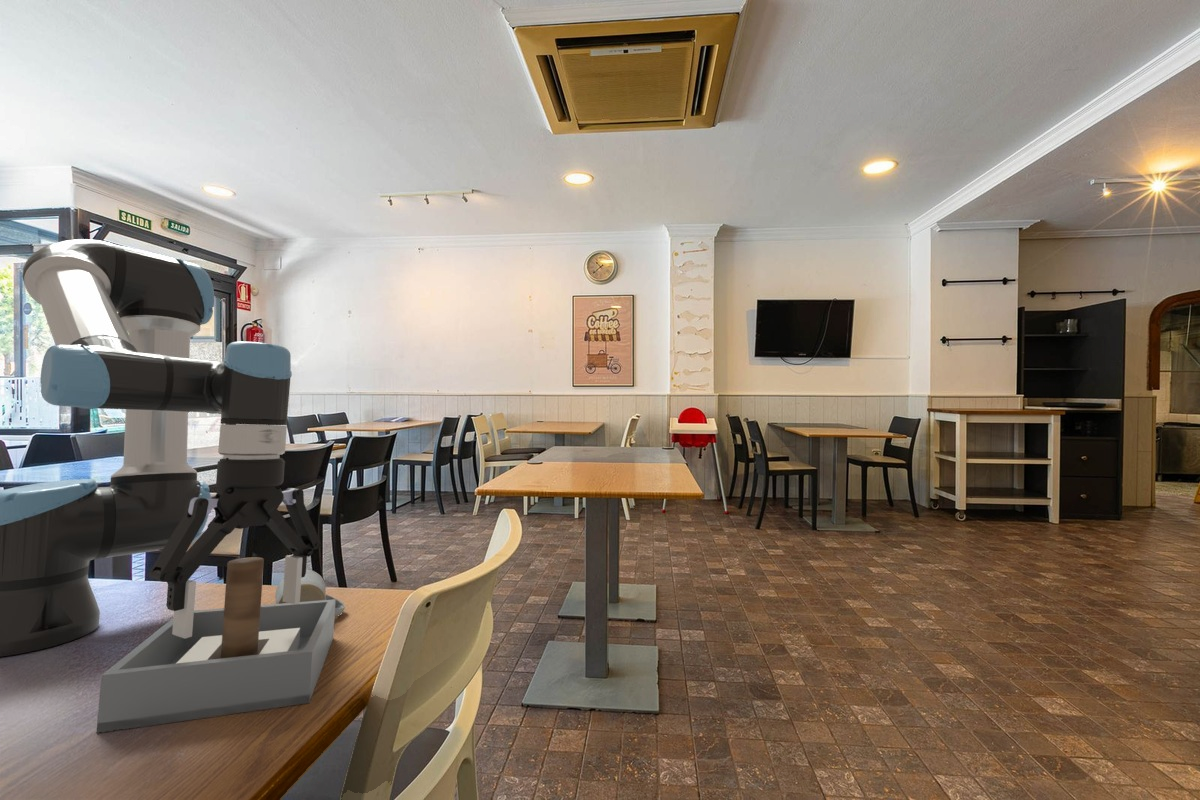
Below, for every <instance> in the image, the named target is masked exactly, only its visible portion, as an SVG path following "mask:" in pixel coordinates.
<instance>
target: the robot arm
mask: <svg viewBox="0 0 1200 800" xmlns="http://www.w3.org/2000/svg"><path fill="white" fill-rule="evenodd" d="M21 275H22V281H23V285H24V287H25V289H26V292H27V294H28V295H29V296H30V297H31V298H32V299H33V300H34V301H35V302H36V303H38V304H39V305H41V308H42V311H43V314H44V316H45V319H46V323H47V325H48V328H49V330H50V334H51V336H52V339H53V341H54V345H52V346H49V347H48V349H46V351H45V353H44V356H43V359H42V363H41V370H40V382H39V383H40V393H41V394H40V395H41V397H42V398H43V400H44V401H45V402H46V403H48V404H50V405H52V406H56V407H57V406H58V407H59V406H60V407H70V408H71V407H72V408H81V409H84V410H96V409H104V410H106V409H107V410H108V409H109V410H111V409H112V410H125V420H124V439H123V440H124V444H123V463H122V464H123V465H122V466H121V467H120V468H119V469H118V470H116V471H115V472H114V473H113V474H112V475H110V482H109V483H110V485H109V486H100V487H98V485H99V484H98V483H97V482H96V480H95V479H91V478H76V479H68V480H67V479H64V480H57V481H56V480H55V481H45V482H39V483H32V484H27V485H21V486H15V487H11V488H6V489H3V490H0V658H1V657H9V656H14V655H19V654H24V653H30V652H34V651H39V650H43V649H44V650H45V649H47V648H52V647H55V646H59V645H62V644H66V643H69V642H71V641H74V640H77V639H79V638H81V637H82V638H83V637H84V636H86V635H87V636H88V634H91V633H92V632H95V630H96V629H97V628H98V627H99V626H100V617H101V612H100V608H99V605H98V602H97V600H96V597H95V594H94V591H93V588H92V587H91V586H92V585H91V583H90V581H89V569H90V562H91V561H92V560H98V559H99V560H100V559H107V558H114V557H121V556H129V555H136V554H143V553H149V552H150V553H152V552H157V551H159V552H160V553H159V556H158V557H157V558H156V560H155V562H154V563H153V565H152V567H151V569H150V571H149V572H148V578H149V579H152V580H155V581H159V582H164V583H165V582H166V583H167V593H166V604H165V605H166V608H167V610H169V611H173V617H172V618H173V630H172V634H173V635H176V636H179V637H181V638H184V639H185V638H189V637H192V630H193V616H194V611H195V604H196V603H195V600H196V586H197V581H196V580H192V579H191V577H192V576H193V575H194V574H195V573H196V572H197V570H198V569H199V567H201V566H202V564H203V563H204V562H205V561H206V560H207V558H208V557H209V556H210V555H211V553H213V551H214V550H216V548H217V547H218V546H219V544H220V543H221V542H222V541H223V540H224V538H225V537H226V536H228V535H230V534H231V533H232V532H233V531H234V529H239V530H243V529H247V528H250V527H252V526H253V527H254V526H256V527H259V526H260V527H263V526H267V527H268V529H270V531H271V532H273V534H274V535H275V536H276V538H278V539H279V541H280V542H282V544H283V546H285V548H287V549H288V551H290V553H291V554H289V555H288V554H287V555H285V556H284V557H285V561H284V575H283V576H284V577H283V578H284V588H283V602H287V603H291V604H298V603H300V592H301V578H302V577H305V574H306V570H307V565H308V563H307V561H308V560H307V559H308V557H309V558H310V556H312V555H313V553H314V550H318V549H319V548H320V547H321V546H322V545H321V544H322V543H321V540H320V537H319V535H318V533H317V531H316V527H315V526H314V523H313V521H312V519H311V517H310V515H309V514H310V513H309V511H308V509H307V508H306V505H305V500H304V499H305V495H304V490H303V489H302V488H293V487H287V488H286V489H285V490H283V491H282V485H283V483H284V478H285V465H286V461H285V460H284V459H283V458H282V457H280V455H281V456H282V455H283V454H285V453H286V443H287V442H286V441H287V430H288V413H289V410H288V409H289V400H290V389H291V388H290V387H291V377H292V375H293V373H292V371H291V370H292V369H291V368H292V367H291V364H292V363H291V362H292V361H291V359H292V358H291V352H290V351H289V349H288V348H286V347H284V346H283V345H279V344H273V343H268V342H259V341H256V342H255V341H242V340H241V341H232V342H230V343H229V344H228V345H227V346H226V349H225V354H224V358H223V360H222V361H218V360H209V359H208V360H207V359H199V358H190V356H191V355H190V348H191V338H192V337H193V336H195V335H196V334H197V333H199V332H200V331H201V326H202V325H206V324H208V323H210V320H212V316H213V315H214V314H213V312H214V311H213V309H214V307H215V291H214V290H215V289H214V286H213V281H212V279H211V277H210V275H209V274H208V272H207V271H206V269H205V268H203V266H201V265H199V264H196V263H193V262H190V261H186V260H182V259H181V258H178V257H174V256H172V257H170V256H166V255H163V254H158V253H153V252H149V251H145V250H141V249H136V248H131V247H128V246H123V245H118V244H115V243H112V242H109V241H108V242H107V241H104V240H99V239H88V238H85V239H84V238H77V239H67V240H66V239H65V240H62V241H61V240H60V241H58V242H54V243H50V244H48V245H46V246H43V247H41V248H40V249H38V250H37V251H35V252H34V253H32V254H31V255H30V257H28V258H27V260H26V261H25V263H24V266H23V268H22V274H21ZM189 413H206V414H212V415H213V414H214V415H215V414H218V415H220V417H221V418H220V426H219V427H220V428H219V439H218V450H217V452H218V454H219V455H221V456H223V458H220V459H219V461H217V465H216V468H217V469H216V481H215V485H216V494H215V496H214V497H213V498H212V496H211V495H212V494H211V493H210V487H209V485H208V483H207V482H205V481H202V480H198V471H197V470H196V469H194V468H193V467H192V466H191V465H189V464H188V434H189V433H188V431H189V428H188V427H189ZM282 503H283V504H284V505H285V507H286V508H285V509H286V510H287V513H288V515H289V517H290V520H291V521H292V524H293V526H294V528H295V530H296V531H294V529H293V527H291V526H290V525H289V524H288V523H287V521H286V518H285V517H284V516H283V514H282V513H281V512H280V510H278V508H279V507H280V505H281V504H282ZM212 510H214V511H215V512H216V515H215V516H214V517H213V519H212V520H210V522H209V523H208V524H207V522H208V518H209V515H210V514H211V513H212ZM206 524H207V525H206ZM206 526H207V527H206ZM205 527H206V530H205V531H204V529H205ZM203 531H204V532H203ZM202 532H203V533H202ZM296 532H297V533H296ZM192 543H193V544H192ZM191 544H192V545H191Z"/></svg>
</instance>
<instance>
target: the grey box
mask: <svg viewBox="0 0 1200 800" xmlns="http://www.w3.org/2000/svg"><path fill="white" fill-rule="evenodd" d="M336 599H337V598H336ZM336 599H332V600H320V601H308V602H300V603H298V604H291V603H283V604H276V603H272V604H271V603H270V604H261V609H260V623H259V638H258V652H257V655H249V656H240V657H231V658H222V659H221V646H222V632H223V618H224V607H223V608H211V609H210V608H209V609H198V610H194V616H193V630H192V637H189V638H185V639H184V638H181V637H179V636H176V635H173V634H172V630H173V617H172V618H171V619H169V621H167V622H166V623H165V624H163V625H162V626H161V627H159V628H158V629H157V630H156V631H155V632H154V633H152V634H151V635H150V636H149V637H147V638H146V639H144V641H142V642H141V643H140V644H138V645H137V646H136V647H135V648H134V649H132V650H130V652H128V653H127V654H126V655H125V656H123V657H122V658H121V659H119V661H117V662H116V663H115V664H113V665H112V666H111V667H110V668H109V669H108V670H106V671H105V672H104V673H103V674H101V675H100V688H99V697H98V698H99V699H98V710H97V723H96V734H100V733H99V732H102V733H106V732H105V731H109V732H113V731H112V730H116V731H120V730H119V729H123V730H129V728H130V729H135V728H136V729H137V728H143V727H149V726H157V725H164V724H165V725H166V724H172V723H178V722H185V721H192V720H200V719H206V718H213V717H221V716H229V715H236V714H242V713H249V712H256V711H265V710H270V709H276V708H284V707H292V706H298V705H299V706H300V705H305V704H310V701H311V699H312V697H313V694H314V691H315V689H316V686H317V683H318V682H319V681H318V680H319V678H320V675H321V673H322V670H323V667H324V664H325V661H326V659H327V657H328V653H329V650H330V648H331V645H332V643H333V640H334V636H335V635H334V631H335V618H336V617H335V600H336Z"/></svg>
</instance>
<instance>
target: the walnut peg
mask: <svg viewBox="0 0 1200 800" xmlns="http://www.w3.org/2000/svg"><path fill="white" fill-rule="evenodd" d="M264 561H265V558H263V557H259V556H258V557H257V556H254V557H252V556H251V557H241V558H235V559H231V560H229V561H227V566H226V577H225V578H226V581H225V591H224V592H225V593H224V607H223V608H224V618H223V632H222V646H221V659H222V658H231V657H240V656H249V655H257V652H258V638H259V623H260V609H261V605H262V595H263V594H262V590H263V579H264V578H263V576H264V564H265V563H264Z"/></svg>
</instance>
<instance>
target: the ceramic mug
mask: <svg viewBox="0 0 1200 800" xmlns="http://www.w3.org/2000/svg"><path fill="white" fill-rule="evenodd" d="M283 588H284V577H283V578H282V579H281V581H280V582H279V583H278V585H277V587H276V590H275V604H283V603H287V602H283ZM332 599H336V600H335V617H334V618H337V617H336V616H338V615H340V614H341V613H342V612H343V613H344V610H345V608H346V605H345V604H344V603H343V601H341V600H339V599H338V598H336V597H334V596H331V595H328V594H327V593H326V583H325V581H324V578H323V577H322V576H321V575H320V574H319V573H317V572H316V571H315V570H311V569H306V574H305V577H302V578H301V592H300V602H308V601H320V600H332ZM343 613H342V614H343Z"/></svg>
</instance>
